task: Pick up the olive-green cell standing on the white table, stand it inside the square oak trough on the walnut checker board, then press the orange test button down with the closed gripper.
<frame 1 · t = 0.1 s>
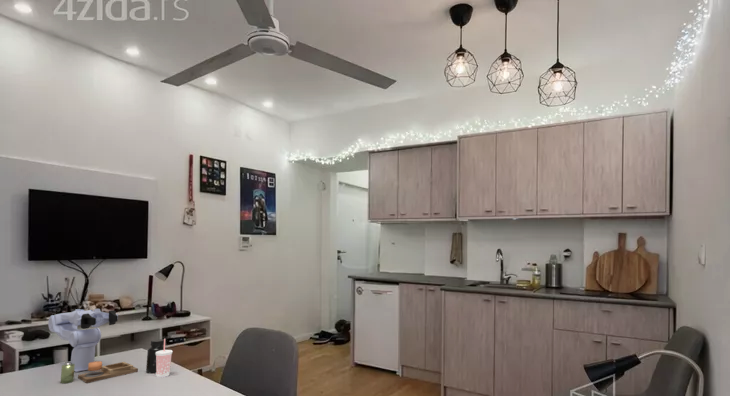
hand: (105, 320, 164), 22 cm above the table, tool horizontal, fingers open, 7 cm apart
board: (108, 374, 166), on the table
beverage cup: (162, 375, 165), on the table
button: (95, 366, 162), point 4 cm above the table, slide at 0.0 cm
supplement bottle: (155, 371, 171), on the table
cell: (67, 381, 157), on the table
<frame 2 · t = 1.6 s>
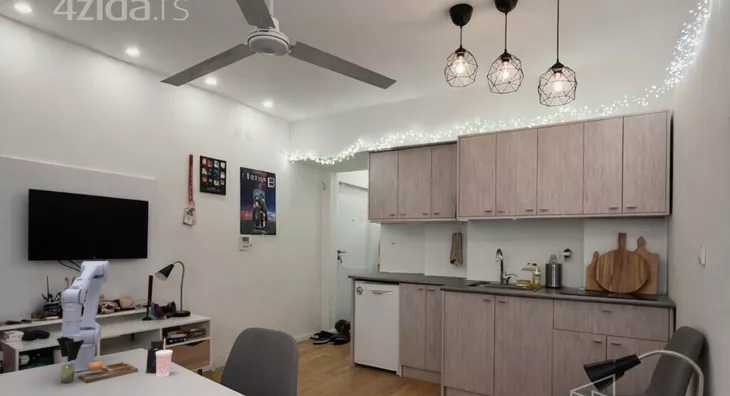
hand: (68, 358, 158), 8 cm above the table, tool pointing down, fingers open, 7 cm apart
nothing on the table moved.
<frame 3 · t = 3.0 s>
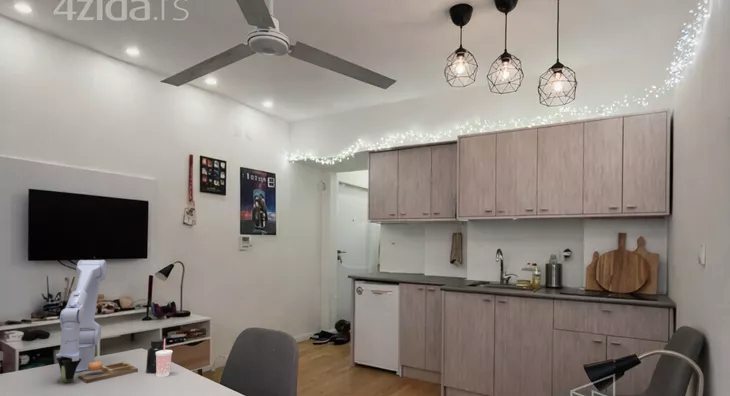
hand: (67, 377, 157), 1 cm above the table, tool pointing down, fingers closed on cell, 4 cm apart
cell: (67, 381, 157), on the table, touching gripper
everything else where it was.
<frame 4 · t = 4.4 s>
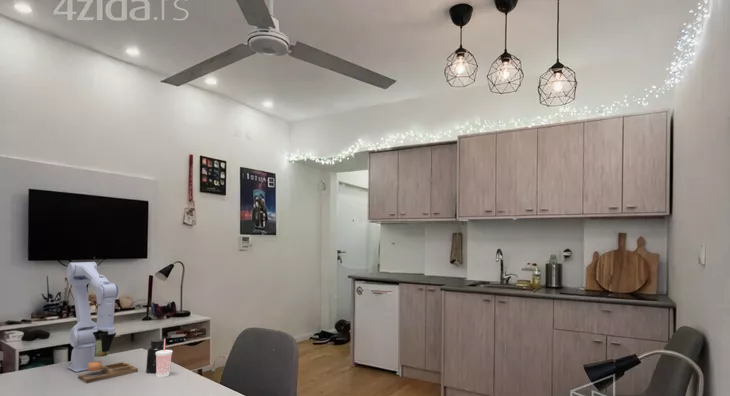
hand: (103, 350, 165), 9 cm above the table, tool pointing down, fingers closed on cell, 4 cm apart
cell: (102, 355, 165), point 8 cm above the table, touching gripper
everything else where it was.
when the fingers open (4 cm above the table, at t = 6.2 s): cell stays where it is, resting on board.
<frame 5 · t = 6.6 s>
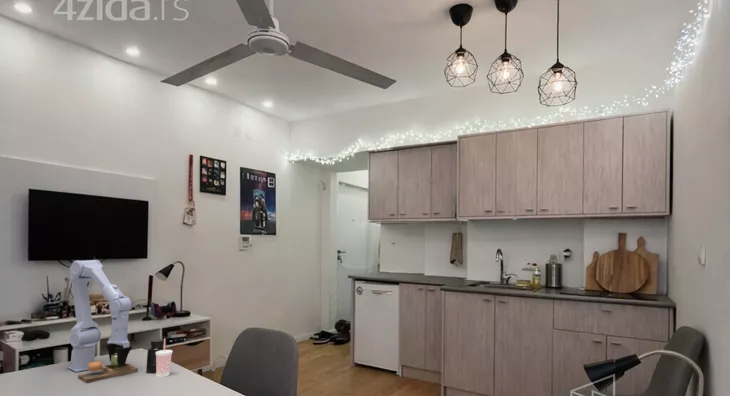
hand: (117, 363, 168), 4 cm above the table, tool pointing down, fingers open, 7 cm apart
cell: (116, 370, 168), point 1 cm above the table, touching board
everything else where it was.
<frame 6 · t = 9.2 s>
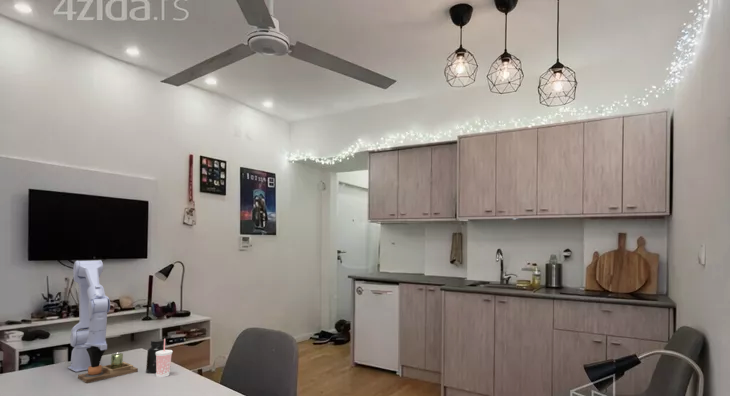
hand: (95, 366, 162), 4 cm above the table, tool pointing down, fingers closed, pressing on button
button: (94, 369, 162), point 3 cm above the table, slide at 1.3 cm, touching gripper
everything else where it was.
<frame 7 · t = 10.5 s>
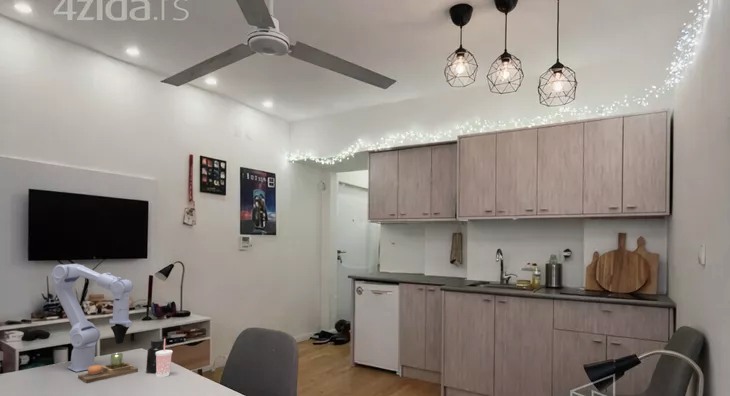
hand: (119, 343, 174), 10 cm above the table, tool pointing down, fingers closed
button: (94, 369, 162), point 3 cm above the table, slide at 1.3 cm
everything else where it was.
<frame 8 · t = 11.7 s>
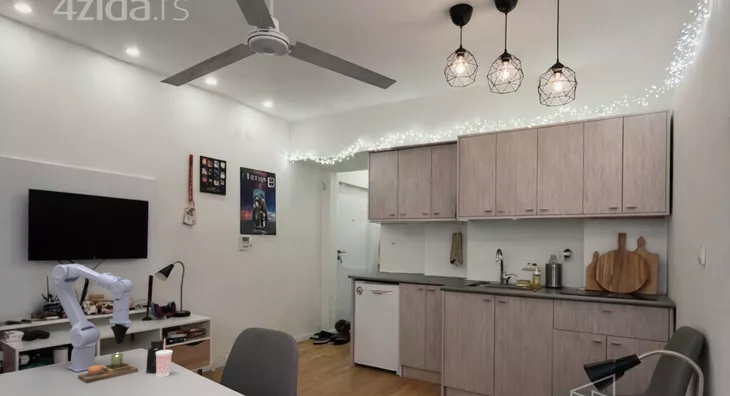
hand: (119, 343, 174), 10 cm above the table, tool pointing down, fingers closed
nothing on the table moved.
at the end: cell 0.3 cm from the target spot, point 1.2 cm above the table; cell tilted 1°; button slide at 1.3 cm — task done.
